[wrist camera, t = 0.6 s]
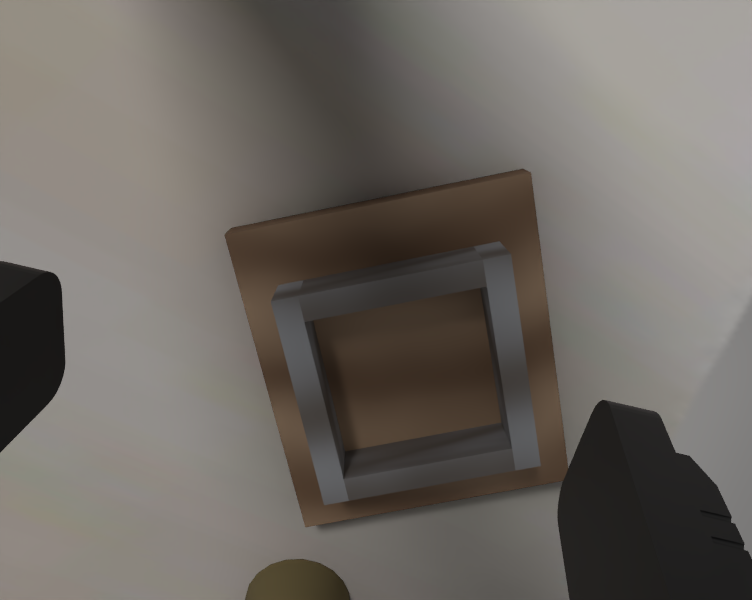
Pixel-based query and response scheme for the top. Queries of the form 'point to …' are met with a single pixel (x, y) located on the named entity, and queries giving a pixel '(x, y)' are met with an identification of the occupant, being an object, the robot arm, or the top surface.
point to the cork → (297, 582)
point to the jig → (406, 347)
